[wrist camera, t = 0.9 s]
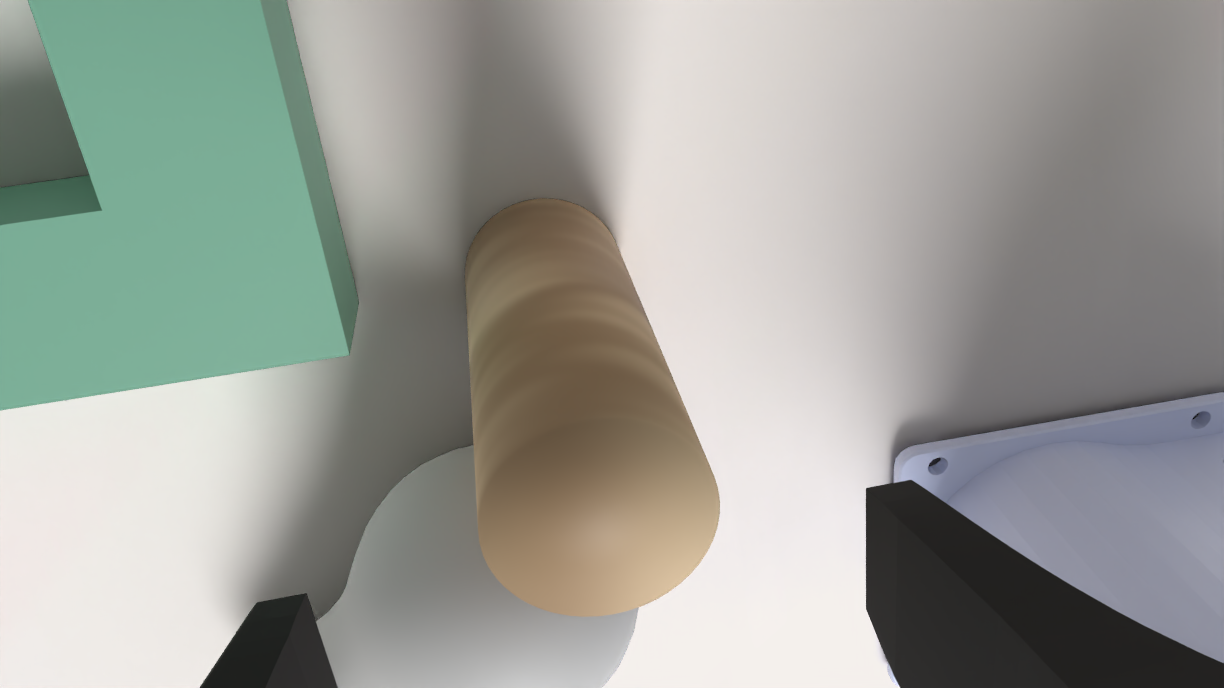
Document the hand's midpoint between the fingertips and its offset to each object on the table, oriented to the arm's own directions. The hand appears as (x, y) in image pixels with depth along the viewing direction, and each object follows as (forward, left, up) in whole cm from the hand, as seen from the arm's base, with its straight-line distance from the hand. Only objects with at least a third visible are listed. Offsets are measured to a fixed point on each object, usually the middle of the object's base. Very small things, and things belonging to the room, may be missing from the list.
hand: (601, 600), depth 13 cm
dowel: (0, 0, -10) cm, 10 cm away
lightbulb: (+8, +10, -9) cm, 16 cm away
